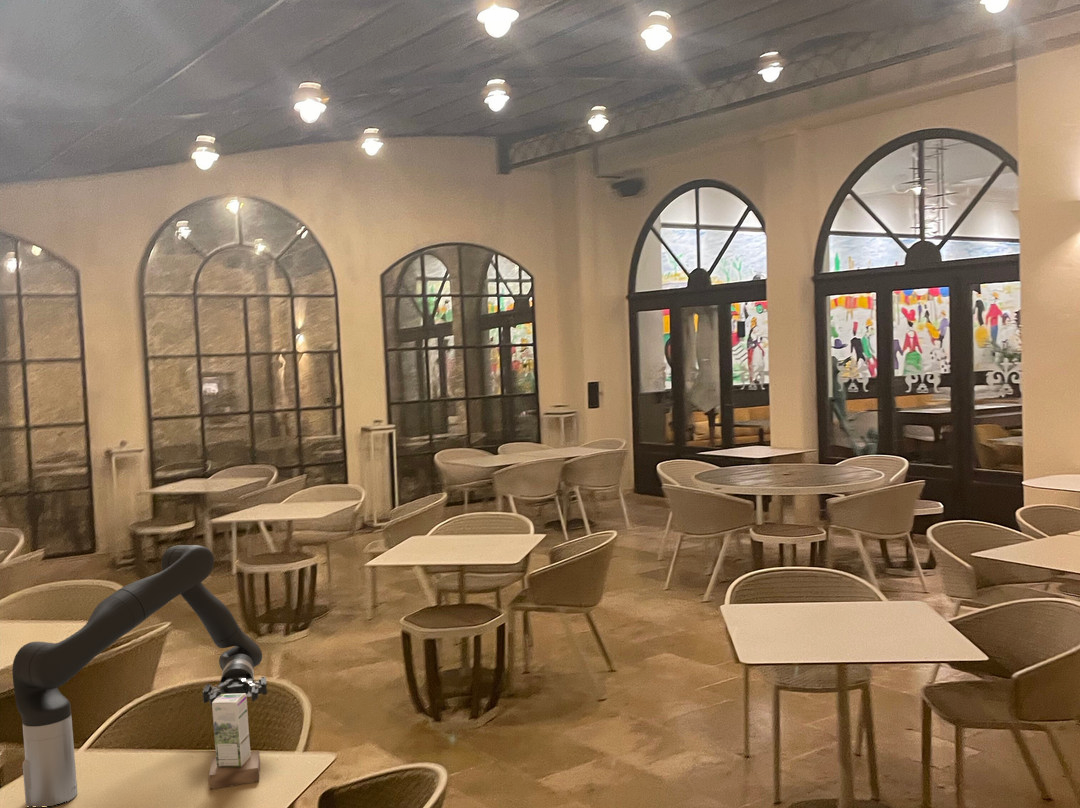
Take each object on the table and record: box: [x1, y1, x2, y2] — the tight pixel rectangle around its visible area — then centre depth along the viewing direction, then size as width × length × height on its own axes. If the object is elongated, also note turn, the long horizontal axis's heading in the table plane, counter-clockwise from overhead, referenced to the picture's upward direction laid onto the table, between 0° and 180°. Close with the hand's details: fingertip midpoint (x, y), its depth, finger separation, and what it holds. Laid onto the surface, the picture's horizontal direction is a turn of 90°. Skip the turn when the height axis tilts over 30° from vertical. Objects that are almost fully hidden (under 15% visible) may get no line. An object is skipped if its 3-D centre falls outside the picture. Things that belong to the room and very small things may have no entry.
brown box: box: [208, 749, 261, 790], centre depth 211 cm, size 10×10×3 cm
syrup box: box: [211, 693, 252, 767], centre depth 211 cm, size 6×6×14 cm
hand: (234, 699), depth 220 cm, fingers open, 8 cm apart
